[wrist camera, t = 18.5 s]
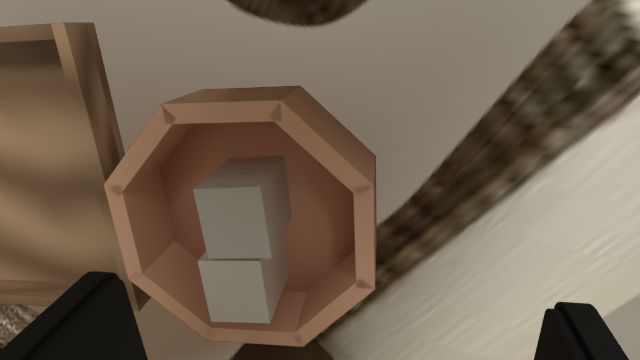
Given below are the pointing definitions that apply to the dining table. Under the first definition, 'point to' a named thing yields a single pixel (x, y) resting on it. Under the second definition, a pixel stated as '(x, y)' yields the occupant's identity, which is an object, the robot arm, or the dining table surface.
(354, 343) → the dining table surface
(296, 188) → the bowl
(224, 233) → the off-white matte cube
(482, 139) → the dining table surface
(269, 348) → the beer bottle
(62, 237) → the walnut tray
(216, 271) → the white sharp-edged block
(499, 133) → the dining table surface
